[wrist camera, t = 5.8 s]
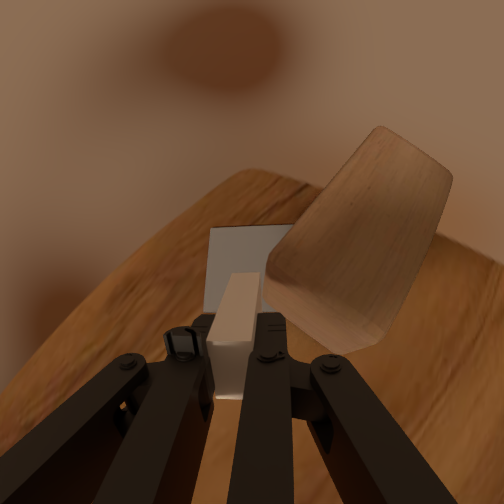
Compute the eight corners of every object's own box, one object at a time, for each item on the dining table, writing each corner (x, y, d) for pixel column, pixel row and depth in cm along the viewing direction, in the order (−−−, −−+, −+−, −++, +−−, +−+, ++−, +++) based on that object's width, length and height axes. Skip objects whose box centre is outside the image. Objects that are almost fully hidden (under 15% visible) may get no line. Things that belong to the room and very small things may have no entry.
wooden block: (257, 299, 28) (354, 177, 35) (338, 359, 25) (417, 221, 32) (260, 258, 19) (379, 119, 26) (383, 348, 16) (457, 173, 23)
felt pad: (314, 226, 33) (315, 223, 32) (323, 309, 28) (323, 308, 28) (211, 229, 34) (210, 228, 34) (204, 312, 29) (203, 311, 29)
